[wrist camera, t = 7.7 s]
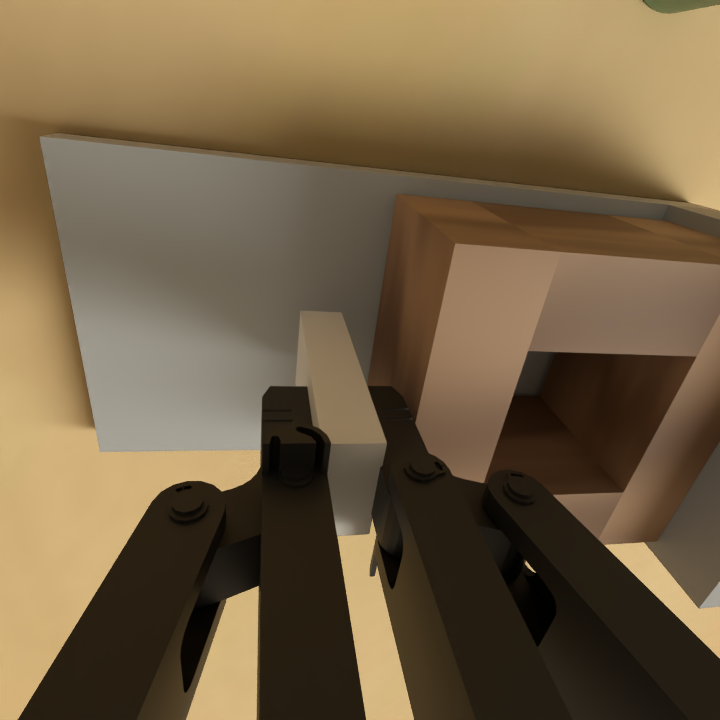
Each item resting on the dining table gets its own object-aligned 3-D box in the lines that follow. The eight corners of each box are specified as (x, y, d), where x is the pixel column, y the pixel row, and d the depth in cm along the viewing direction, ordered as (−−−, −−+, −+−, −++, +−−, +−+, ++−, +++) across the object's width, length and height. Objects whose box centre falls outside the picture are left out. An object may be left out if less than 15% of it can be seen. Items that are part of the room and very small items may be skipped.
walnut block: (396, 193, 14) (455, 243, 10) (668, 220, 16) (825, 273, 12) (358, 443, 19) (385, 558, 15) (572, 441, 21) (656, 541, 17)
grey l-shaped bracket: (57, 133, 14) (-242, 191, 6) (690, 202, 18) (1015, 291, 10) (109, 432, 19) (-8, 676, 11) (588, 429, 23) (749, 603, 15)
